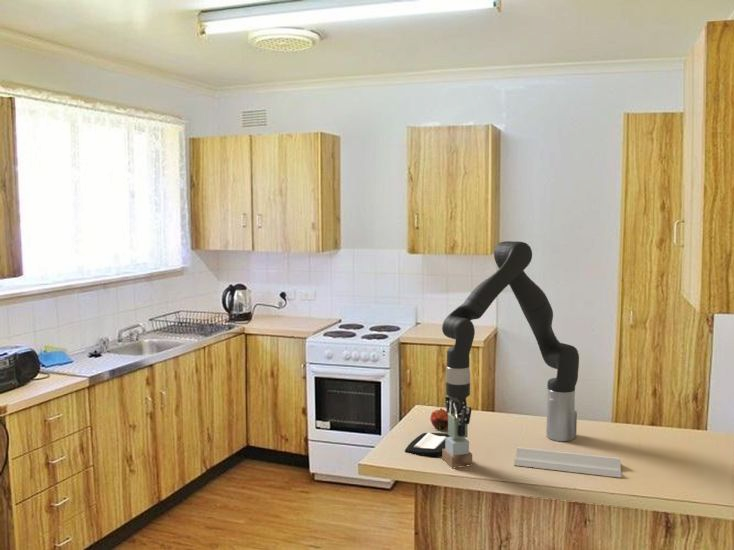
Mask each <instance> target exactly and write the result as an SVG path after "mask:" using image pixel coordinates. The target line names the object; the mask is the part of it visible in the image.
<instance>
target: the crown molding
mask: <svg viewBox="0 0 734 550" xmlns="http://www.w3.org/2000/svg"><path fill="white" fill-rule="evenodd" d="M515 454H516V455H515V459H514V464H513V466H515V465H516V466H517V467H527V468H532V467H533V468H535V469H543V470H551V471H558V472H559V471H560V472H567V473H568V472H569V473H578V474H584V475H585V474H586V475H593V476H600V477H601V476H603V477H609V478H610V477H611V478H618V479H619V478H620V479H621V478H622V471H621V469H622V467H621V462H622V461H621V460H622V459H621V457H616V456H615V457H613V456H604V455H595V454H587V453H575V452H570V451H569V452H567V451H566V452H565V451H557V450H548V449H540V448H539V449H538V448H531V447H522V446H516V452H515Z"/></svg>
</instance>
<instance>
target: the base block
mask: <svg viewBox="0 0 734 550" xmlns="http://www.w3.org/2000/svg"><path fill="white" fill-rule="evenodd" d="M441 457H442V459H441V460H443V461H442V462H444V461H445V462H446V463H447V464H448V465H449V468H451V467H452V468H451V469H455V468H454V467H459V466H465V467H468V466H467V465H471V464H472V465H473V453H472V452H470V451H469V454H462V455H455V456H453V455H451V454H450V453H449V452H448V451H446V450H445V449H442V454H441ZM445 462H444V463H445ZM446 463H445V464H446ZM447 464H446V465H447ZM448 465H447V466H448ZM459 468H460V467H459Z"/></svg>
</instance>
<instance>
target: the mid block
mask: <svg viewBox="0 0 734 550" xmlns="http://www.w3.org/2000/svg"><path fill="white" fill-rule="evenodd" d="M445 450H446V451H448V452H449V453H450V454H451V455H453V456H455V455H462V454H469V452H470V441H469V440H468V439H466V438H459V439H454V438H452V437H445Z"/></svg>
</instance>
